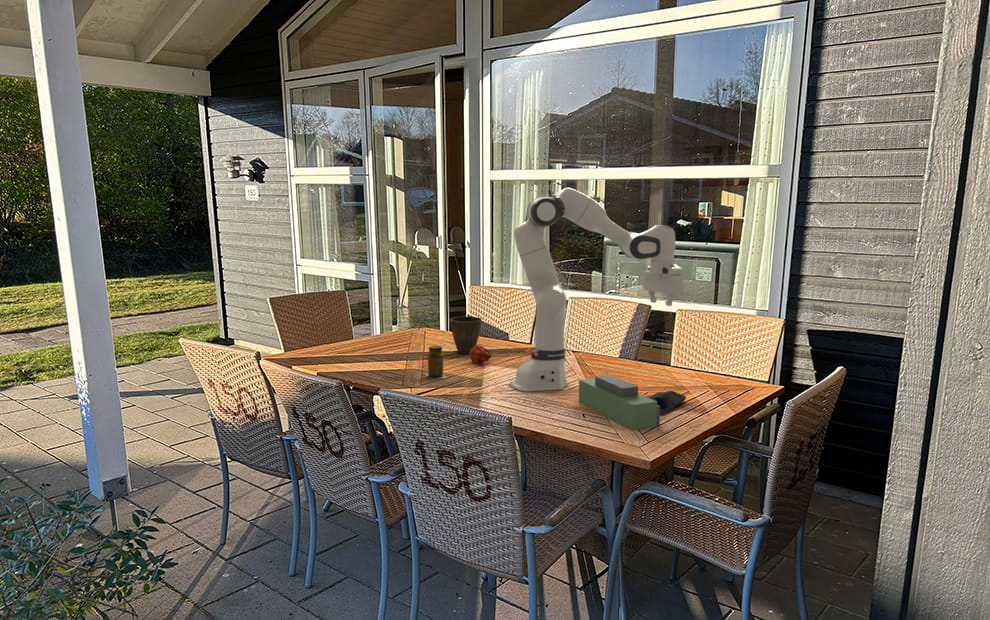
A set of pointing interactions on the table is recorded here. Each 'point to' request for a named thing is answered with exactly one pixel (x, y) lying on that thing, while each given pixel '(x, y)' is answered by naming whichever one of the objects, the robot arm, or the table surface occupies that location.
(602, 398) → the block
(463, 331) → the plant pot
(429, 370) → the condiment
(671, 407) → the black crumpled cloth
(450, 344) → the table surface
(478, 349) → the dragon fruit
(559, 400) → the table surface
